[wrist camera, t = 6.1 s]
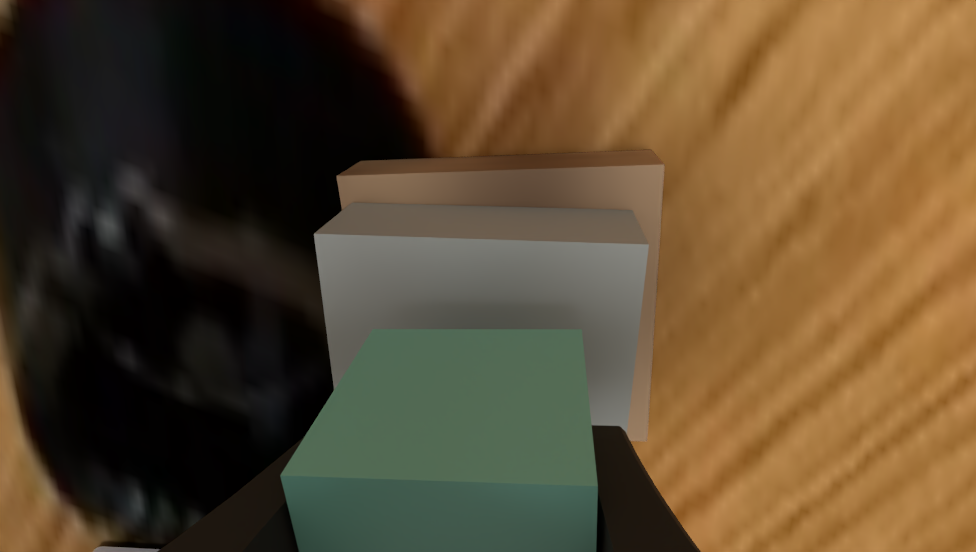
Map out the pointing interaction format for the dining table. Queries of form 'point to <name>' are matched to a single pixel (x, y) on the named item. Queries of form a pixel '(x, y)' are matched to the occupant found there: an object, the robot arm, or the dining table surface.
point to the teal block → (451, 447)
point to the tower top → (489, 281)
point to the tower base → (540, 185)
